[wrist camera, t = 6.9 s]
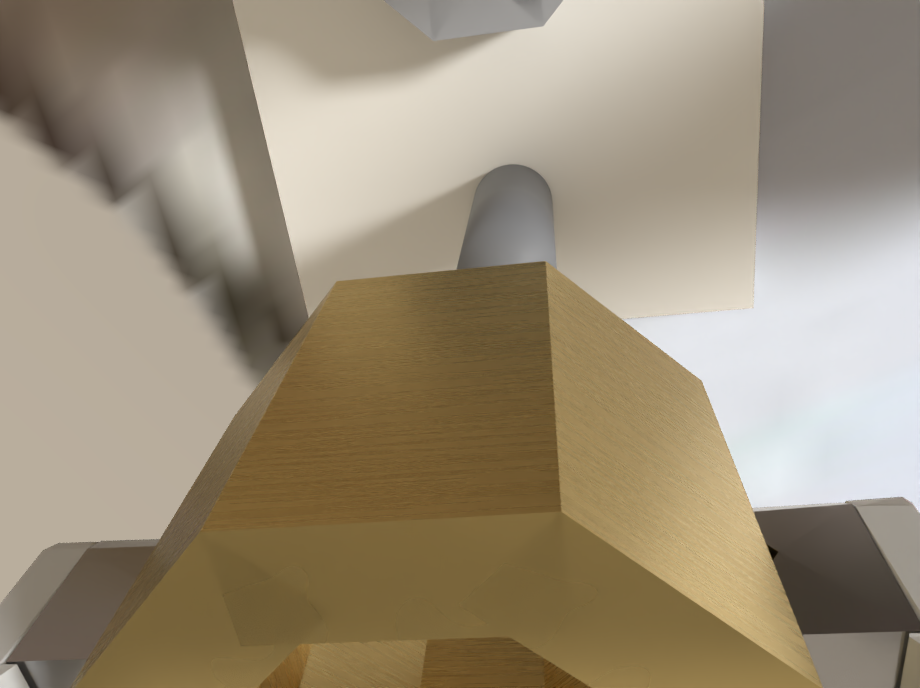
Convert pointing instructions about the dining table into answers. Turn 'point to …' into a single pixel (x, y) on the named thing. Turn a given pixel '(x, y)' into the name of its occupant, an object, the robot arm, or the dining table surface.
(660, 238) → the gear board
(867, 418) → the dining table surface
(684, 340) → the dining table surface
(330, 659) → the brass gear
